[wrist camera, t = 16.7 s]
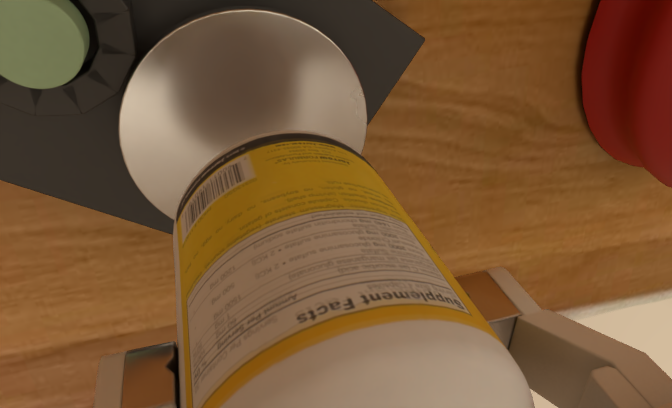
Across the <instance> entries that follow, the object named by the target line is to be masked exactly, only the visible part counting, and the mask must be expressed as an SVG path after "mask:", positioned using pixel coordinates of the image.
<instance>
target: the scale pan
mask: <svg viewBox="0 0 672 408" xmlns="http://www.w3.org/2000/svg"><path fill="white" fill-rule="evenodd" d="M285 130H300V131H310V132H315V133H320V134H323V135H326V136H329V137H332V138H335V139H337V140H339V141H341V142H343V143H345V144H347V145H348V146H350V147H351V148H352V149H354V150H355V151H357V152H358V153H359V154H360V155H361V153H362V150H363V147H364V143H365V137H366V132H367V107H366V100H365V96H364V91H363V87H362V85H361V82H360V80H359V77H358V75H357V73H356V71H355V69H354V67H353V66H352V64H351V62H350V61H349V59H348V58H347V57H346V55H345V54H344V53H343V51H342V50H341V49H340V48H339V47H338V46H337V45H336V44H335V43H334V42H333V41H332V40H331V39H330V38H329V37H328V36H327V35H326V34H325V33H323V32H322V31H320V30H319V29H318V28H316V27H315V26H314V25H312V24H310V23H308V22H307V21H305V20H303V19H301V18H299V17H297V16H294V15H292V14H289V13H286V12H283V11H280V10H275V9H271V8H266V7H257V6H232V7H224V8H219V9H214V10H209V11H207V12H204V13H201V14H198V15H195V16H192V17H190V18H188V19H186V20H184V21H182V22H181V23H179V24H177V25H175V26H174V27H172V28H171V29H169V30H168V31H167V32H165V33H164V34H162V35H161V36H160V37H159V38H158V39H157V40H156V41H155V42H154V43H153V44H152V45H150V46H149V47H148V49H147V50H146V51H145V52H144V54H143V55H142V56H141V58H140V59H139V60H138V61H137V63H136V65H135V67H134V68H133V70H132V72H131V74H130V76H129V78H128V80H127V83H126V86H125V88H124V91H123V95H122V99H121V104H120V109H119V120H118V134H119V144H120V148H121V152H122V156H123V160H124V162H125V165H126V167H127V169H128V172H129V174H130V176H131V177H132V179H133V181H134V182H135V184H136V186H137V187H138V188H139V190H140V191H141V192H142V193H143V195H144V196H145V197H146V198H147V199H148V200H149V201H150V202H151V203H152V204H153V205H154V206H155V207H156V208H157V209H158V210H160V211H161V212H163V213H164V214H165V215H167V216H168V217H170V218H171V219H173V220H175V216H176V212H177V209H178V206H179V203H180V200H181V198H182V196H183V194H184V192H185V190H186V189H187V187H188V185H189V184H190V182H191V181H192V180H193V178H194V177H195V176H196V175H197V173H198V172H199V171H200V170H201V169H202V168H203V167H204V166H205V165H206V164H207V163H208V162H210V161H211V160H212V159H213V158H214V157H216V156H217V155H218V154H220V153H221V152H222V151H224V150H226V149H227V148H229V147H231V146H232V145H234V144H236V143H239V142H241V141H243V140H245V139H248V138H251V137H254V136H257V135H260V134H264V133H269V132H275V131H285Z"/></svg>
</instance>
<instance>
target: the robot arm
mask: <svg viewBox="0 0 672 408" xmlns="http://www.w3.org/2000/svg"><path fill="white" fill-rule="evenodd" d="M454 278H455V279H456V281H457V282H458V283H459V285H460V286H461V287H462V289H463V290H464V291H465V293H466V294H467V295H468V297H469V298H470V300H471V301H472V302H473V304H474V305H475V306H476V308H477V309H478V310H479V312H480V313H481V314H482V316H483V317H484V319H485V320H486V321H487V323H488V324H489V325H490V327H491V328H492V329H493V331H494V332H495V333H496V335H497V336H498V338H499V339H500V340H501V342H502V343H503V344H504V346H505V347H506V349H507V350H508V351H509V353H510V354H511V356H512V357H513V359H514V360H515V362H516V363H517V365H518V366H519V368H520V370H521V371H522V373H523V375H524V377H525V379H526V381H527V383H528V386H529V388H530V389H532V390H533V391H535V392H536V393H538V394H539V395H541V396H542V397H544V398H545V399H546V400H548V401H550V402H551V403H552V404H554V405H555V406H557V407H558V408H672V379H671V378H670V377H669V376H668V375H667V374H666V373H665V372H664V371H662V369H661V368H660V367H659V366H658V365H657V364H656V363H655V362H654V361H652V359H651V358H649V356H648V355H647V354H646V353H644V352H641V351H639V350H637V349H635V348H632V347H630V346H628V345H626V344H623V343H621V342H619V341H617V340H615V339H613V338H610V337H608V336H606V335H604V334H601V333H599V332H597V331H595V330H593V329H591V328H588V327H586V326H584V325H582V324H579V323H577V322H575V321H573V320H571V319H568V318H566V317H564V316H562V315H560V314H557V313H555V312H553V311H551V310H548V309H546V310H542V309H541V308H540V307H539V306H538V305H537V304H536V303H535V301H534V300H533V299H532V298H531V297H530V296H529V295H528V294H527V292H526V291H525V290H524V289H523V288H522V287H521V286H520V284H519V283H518V282H517V281H516V280H515V279H514V278H513V277H512V275H511V274H510V273H509V272H508V271H507V270H506V269H505V268H503V267H497V268H493V269H488V270H484V271H479V272H475V273H471V274H467V275H462V276H458V277H454ZM93 408H180V398H179V373H178V348H177V345H176V342H174V341H173V342H168V343H163V344H159V345H154V346H149V347H144V348H139V349H134V350H129V351H126V352H121V353H116V354H111V355H106V356H102V357H101V359H100V362H99V365H98V373H97V381H96V389H95V397H94V405H93Z"/></svg>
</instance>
